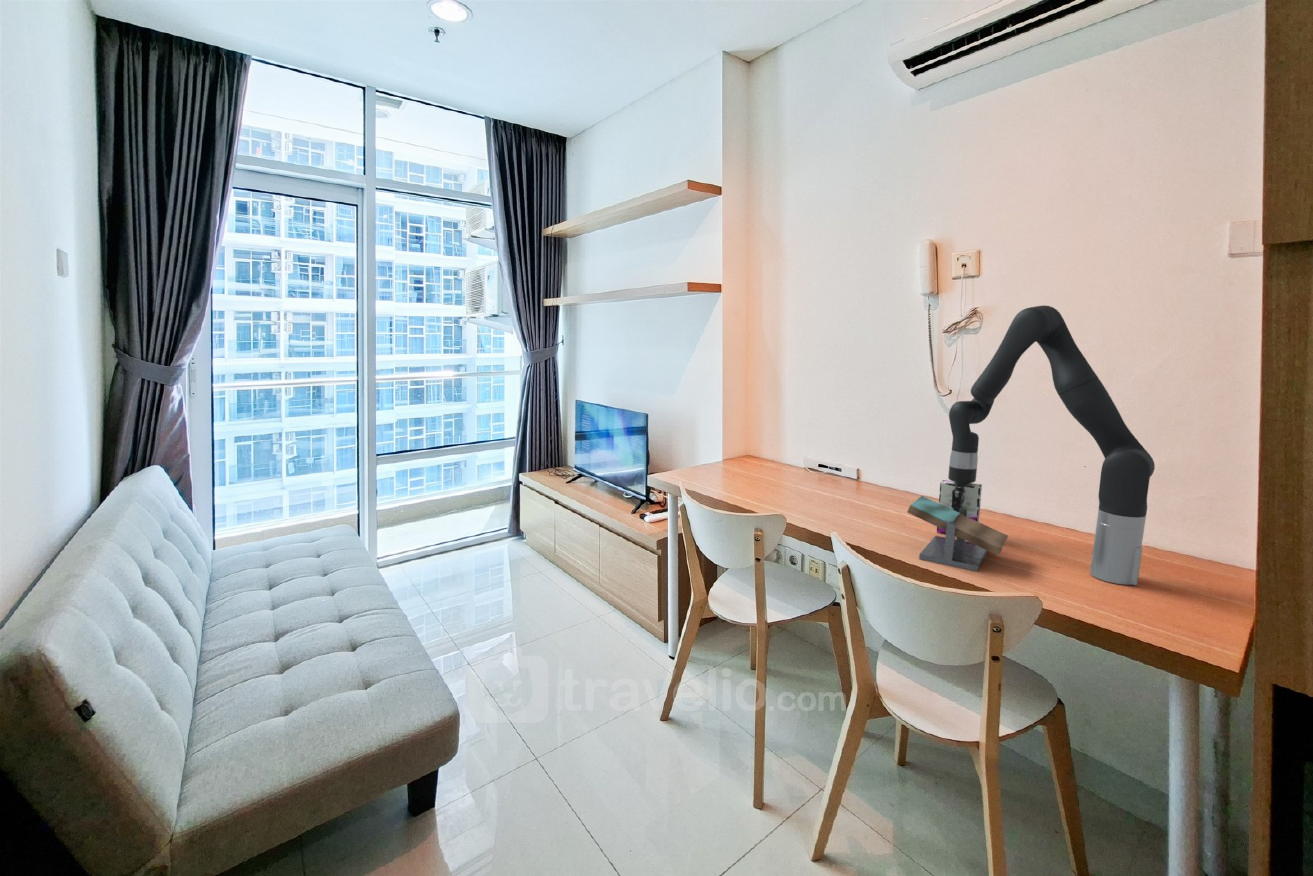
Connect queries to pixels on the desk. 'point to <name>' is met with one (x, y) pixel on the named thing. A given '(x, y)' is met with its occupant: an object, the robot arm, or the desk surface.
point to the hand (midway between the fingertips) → (958, 518)
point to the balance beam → (959, 524)
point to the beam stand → (954, 549)
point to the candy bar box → (971, 498)
